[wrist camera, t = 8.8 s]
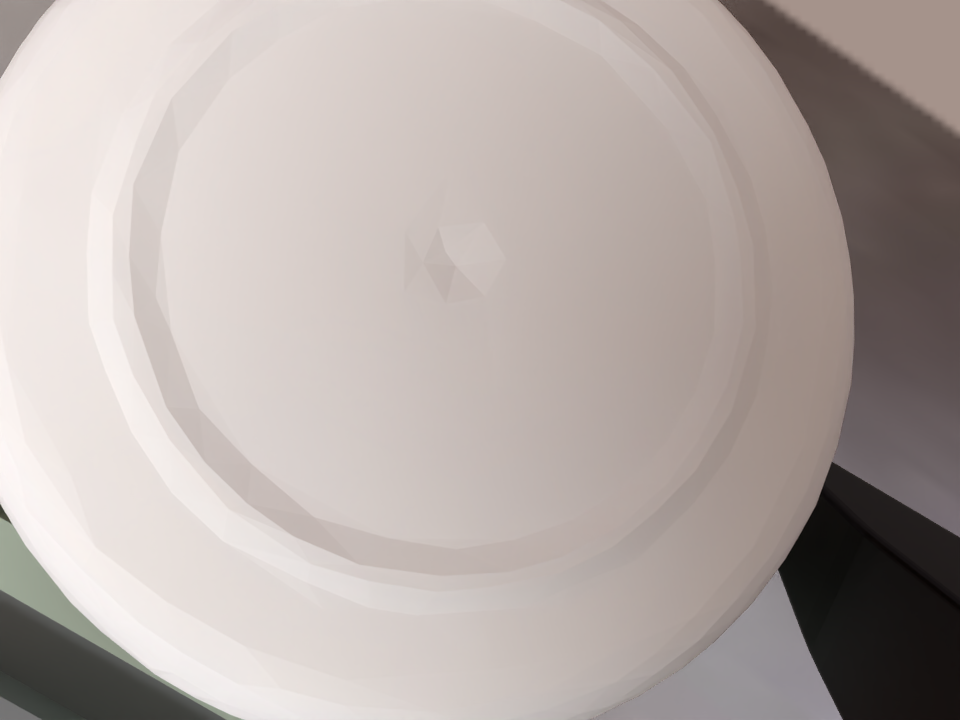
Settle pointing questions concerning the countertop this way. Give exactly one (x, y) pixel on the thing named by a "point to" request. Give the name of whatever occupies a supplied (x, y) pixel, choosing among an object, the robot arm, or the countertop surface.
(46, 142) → the sprinkles bottle
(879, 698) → the robot arm
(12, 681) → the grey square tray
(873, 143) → the countertop surface
